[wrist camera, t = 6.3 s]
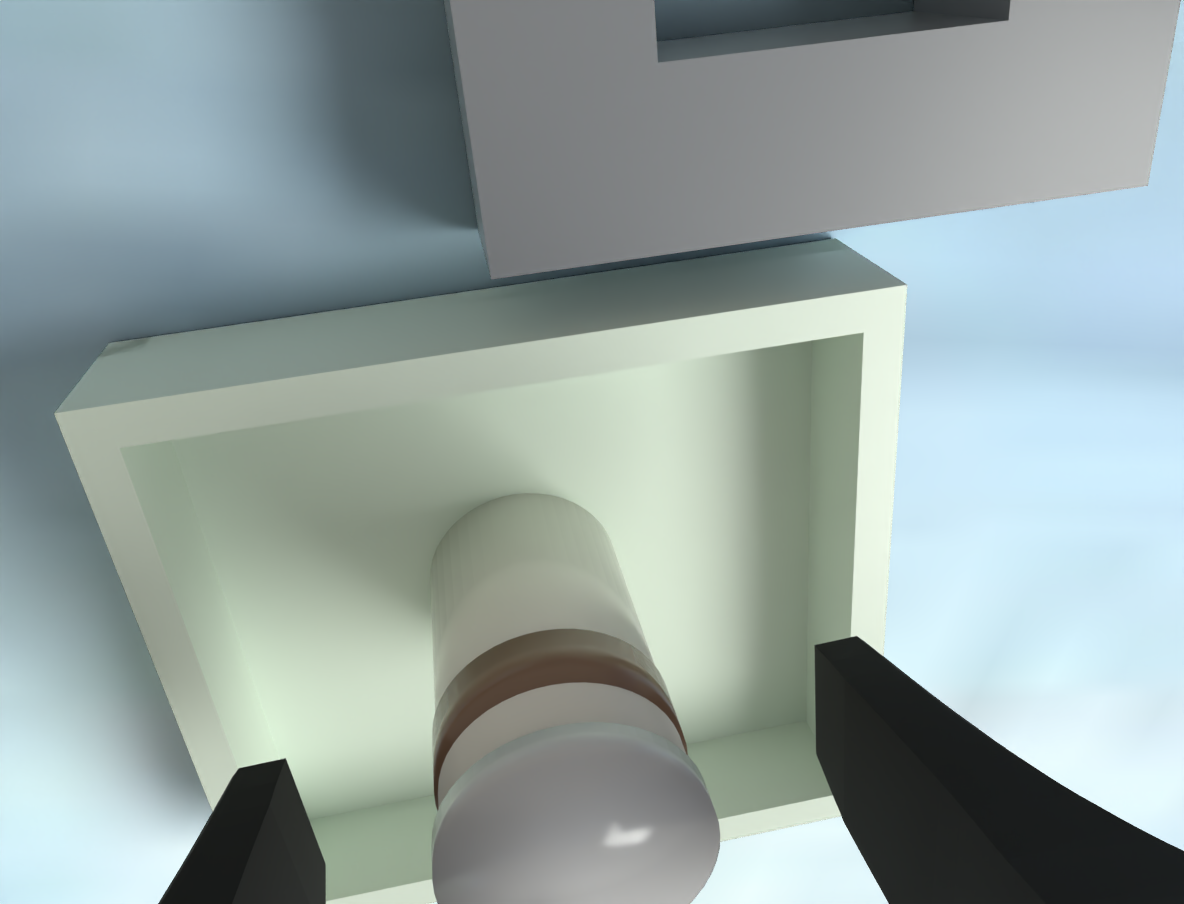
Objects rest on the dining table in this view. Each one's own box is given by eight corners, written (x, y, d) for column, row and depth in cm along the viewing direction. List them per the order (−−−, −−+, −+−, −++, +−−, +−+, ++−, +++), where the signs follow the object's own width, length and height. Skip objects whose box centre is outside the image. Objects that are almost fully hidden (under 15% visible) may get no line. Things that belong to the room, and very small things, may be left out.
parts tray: (835, 238, 15) (907, 284, 13) (822, 717, 20) (873, 809, 18) (109, 343, 14) (54, 414, 12) (280, 825, 19) (263, 938, 17)
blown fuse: (614, 473, 16) (717, 728, 11) (627, 635, 17) (722, 928, 12) (408, 505, 15) (408, 787, 10) (441, 668, 17) (455, 984, 12)
